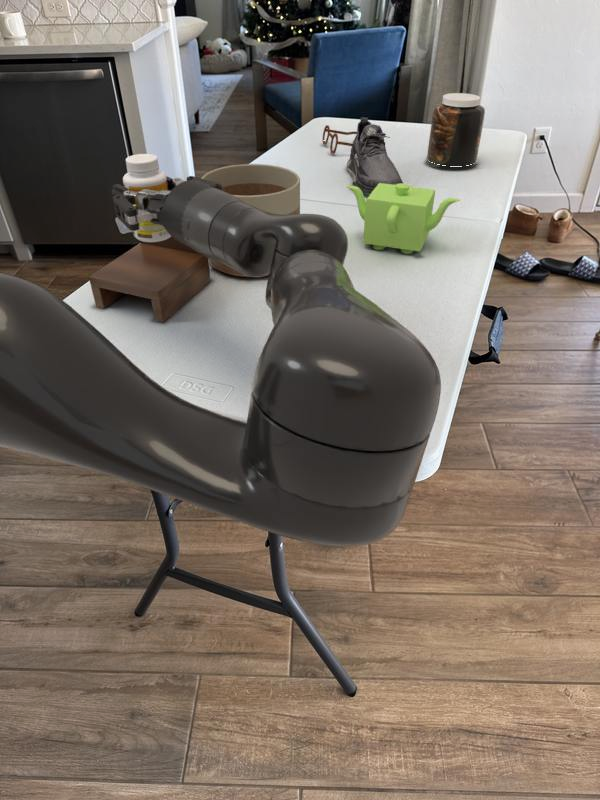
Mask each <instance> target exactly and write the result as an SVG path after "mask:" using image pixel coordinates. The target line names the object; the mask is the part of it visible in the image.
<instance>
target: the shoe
mask: <svg viewBox="0 0 600 800" xmlns="http://www.w3.org/2000/svg"><path fill="white" fill-rule="evenodd" d="M356 132H357V134H355V137H354V139H353V141H352V144H353V145H352V146H351V148H350V155H349V159H348V161H347V163H346V169H347V170H348V172H349V173H350V174H351V176H352V186H356V187H358V188H360V189H361V191H362V192H363V195H368V196H369V195H370V194H371V193H372V191H373V190H374V189H375V188H376V186H377V185H378V184H379V183H384V184H392V185H396V184H399V183H404V181H403V180H402V178H401V174H400V172H399V171H398V169H397V168H396V165H395V164H394V162H393V161H392V159H390V157H389V156H388V152H387V148H386V141H385V138H388V139H390V138H391V137H390V136H387V133H385V132H383V129H382V127H381V126H380V125H378V124H374V123H372V122H371V121H369V117H360V120H359V122H358V123H357V128H356Z"/></svg>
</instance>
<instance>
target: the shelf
mask: <svg viewBox="0 0 600 800" xmlns="http://www.w3.org/2000/svg"><path fill="white" fill-rule="evenodd" d="M88 280H89V284H90V289H91V292H92V296H93V300H94V305H95V307H96V308H100V309H105V308H107V307H108V306H110V305H111V304H113V302H115V301H117V300H118V299H119V298H121V296H123V295H125V294H126V295H132V296H136V297H140V298H145V299H149V300H150V301H151V306H152V313H153V319H154V321H155V322H159V323H165V322H166V321H167V320H168V319H169V318H170V317H172V316H173V314H175V313H176V312H177V311H179V309H181V308H182V307H183V306H184V305H185V304H186V303H187V302H188V301H190V300H191V299H193V298H194V297H195V296H196V295H197V294H198V293H199V292H201V290H202V289H204V288H205V287H206V286H207V285H208V284H209V283H211V282H212V279H211V272H210V262H209V260H208V257H206V256H204V255H202V254H200V253H198V252H197V251H195V250H193V249H191V248H189V247H188V246H186V245H184V244H182V243H180V242H178V241H177V240H175V239H174V238H173V237H172V236H171V237H170V238H168V239H166V240H163V241H159V242H144V241H140V240H139V243H138V244H137V245H136V244H135V246H133V247H132V248H131V249H129V250H128V251H126V252H124V253H123V254H121V255H120V256H118V257H117V258H115V259H113V260H112V261H111V262H109V263H108V264H106V265H104V266H103V267H101V268H100V269H98V270H97V271H95V272H94V273H92V274H90V275H89V276H88Z"/></svg>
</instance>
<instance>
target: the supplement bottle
mask: <svg viewBox="0 0 600 800" xmlns="http://www.w3.org/2000/svg"><path fill="white" fill-rule="evenodd" d="M125 165H126V171H127V172H126V173H125V174H124V176H123V177H122V184H123V186H124V187H126V188H128V189H130V190H131V191H136V192H139V191H141V190H143V189H148V190H154V191H162V190H166V191H169V190H168V183H167V177H168V176H167V175H166V173H165V172H164V171H162V170H161V169H160V164H159V160H158V156H157V155H155V154H152V153H137V154H132V155H130V156H127V157H126V158H125ZM166 176H167V177H166ZM149 201H150V198H149ZM135 204H136V205H137V207H139V203H138V200H137V199H135ZM139 227H140V229H139V230H136V231H132V234H133V237H134V238H135V239H137V240H138V241H139V242H140V241H144V242H159V241H163V240H166V239H168V238H170V237H171V235H170V234H169V233H168V232H167V230H166V229H165V228H164V227H163V226H162V225H157V224H153V223H151V222H150V221H145V222H141V223H140V225H139Z"/></svg>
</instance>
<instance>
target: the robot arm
mask: <svg viewBox="0 0 600 800" xmlns="http://www.w3.org/2000/svg"><path fill="white" fill-rule="evenodd" d="M166 177H167V183H168V190H169V191H166V190H162V191H154V190H148V189H143V190H141V191H139V192H136V191H131V190H130V189H128V188H126V187H124V185H122V184H120V183H116V184H113V185H112V189H111V195H112V202H113V205H114V210H115V216H116V218H117V219H118V220H119V221H120V222H121V223H122V224H123V225H124V226H125V227H126V228H127V229H128V230H129V231H131V232H133V231H136V230H139V229H140V227H139V225H140V223H141V222H145V221H150V222H151V223H153V224H157V225H162V226H163V227H164V228H165V229H166V230H167V232H168V233H169V234H170V235H171V236H172V237H173V238H174V239H175V240H177V241H178V242H180V243H182V244H184V245H186V246H188V247H189V248H191V249H193V250H195V251H197V252H198V253H200V254H202V255H204V256H206V257H208V258H210V259H213V260H216V261H219V262H222V263H223V264H225V265H227V266H229V267H231V268H233V269H235V270H236V271H238V272H240V273H242V274H244V275H247V276H250V277H249V278H261V277H266V276H265V275H267V274H269V275H268V278H267V283H266V288H265V304H266V305H267V306H268V308H269V309H270V312H271V319H272V320H271V321H272V323H273V327H272V329H271V331H270V333H269V336H268V337H267V339H266V342H265V343H264V346H263V348H262V351H261V353H260V356H259V358H258V361H257V363H256V368H255V371H254V375H253V380H252V386H251V394H250V398H249V399H250V400H249V404H248V405H249V406H248V410H247V417H246V422H245V421H241V420H238V419H235V418H231V417H228V416H226V415H222V414H220V413H217V412H215V411H213V410H209V409H207V408H204V407H201V406H199V405H196V404H193V403H192V402H190V401H188V400H185V399H184V398H182V397H180V396H178V395H176V394H174V393H172V392H171V391H169V390H167V389H166V388H165V387H163V386H162V385H160V384H159V383H157V382H156V381H155V380H153V378H151V377H150V376H149V375H147V374H146V373H145V372H144V371H143V370H142V369H141V368H139V367H138V366H137V365H136V364H135V363H134V362H133V361H131V359H129V358H128V357H127V356H126V355H125V353H123V352H122V351H121V350H120V349H119V348H118V347H117V346H115V344H114V343H112V342H111V341H110V340H109V339H108V338H107V337H106V336H104V334H103V333H101V332H100V331H99V330H98V329H97V328H96V327H95V326H94V325H93V324H91V323H90V322H89V321H88V320H87V319H86V318H85V317H83V316H82V315H81V314H80V313H79V312H78V311H77V310H75V309H74V308H73V306H71V305H69V304H68V303H67V302H66V301H64V300H63V299H62V298H60V297H59V296H57V294H54V293H53V292H52V291H50V290H48V289H47V288H45V287H43V286H42V285H39V284H38V283H36V282H34V281H32V280H29V279H27V278H24V277H21V276H19V275H14V274H11V273H7V272H2V271H0V447H1V448H6V449H11V450H14V451H18V452H21V453H25V454H29V455H33V456H37V457H41V458H44V459H48V460H52V461H55V462H59V463H63V464H65V465H70V466H73V467H76V468H79V469H80V468H81V469H84V470H86V471H90V472H95V473H98V474H101V475H105V476H108V477H112V478H116V479H119V480H122V481H125V482H128V483H130V484H134V485H136V486H139V487H142V488H145V489H148V490H151V491H153V492H156V493H158V494H162V495H163V496H164V495H165V496H167V497H170V498H173V499H176V500H178V501H181V502H183V503H186V504H189V505H192V506H194V507H198V508H201V509H203V510H206V511H209V512H211V513H214V514H217V515H220V516H222V517H225V518H228V519H231V520H233V521H236V522H238V523H239V522H240V523H242V524H245V525H248V526H250V527H254V528H256V529H259V530H261V531H264V532H267V533H271V534H273V535H277V536H281V537H284V538H287V539H291V540H296V541H298V542H302V543H303V542H304V543H310V544H314V545H321V546H327V547H339V548H348V547H362V546H367V545H371V544H375V543H378V542H380V541H383V540H384V539H385V538H387V537H388V536H390V535H391V534H393V533H394V531H396V529H397V528H398V526H399V525H400V523H401V521H402V519H403V517H404V515H405V514H406V513H405V512H406V510H407V507H408V505H409V501H410V499H411V495H412V493H413V490H414V486H415V483H416V481H417V477H418V473H419V471H420V467H421V465H422V461H423V458H424V456H425V453H426V449H427V446H428V443H429V439H430V437H431V433H432V430H433V427H434V424H435V422H436V418H437V414H438V411H439V407H440V401H441V400H440V399H441V392H442V381H441V374H440V373H441V372H440V370H439V368H438V365H437V363H436V360H435V359H434V357H433V355H432V354H431V353H430V351H429V350H428V348H427V347H426V346H425V345H424V343H422V341H420V339H419V338H418V337H417V336H416V335H415V334H414V333H413V332H411V331H410V330H409V329H408V328H407V327H405V326H404V325H403V324H401V323H400V322H399V321H398V320H397V319H396V318H394V317H393V316H391V315H390V314H389V313H387V312H386V311H385V310H383V309H382V308H381V307H380V306H379V305H378V304H376V303H375V302H373V301H372V300H371V299H369V298H368V297H366V296H365V295H363V294H362V293H360V292H359V291H358V290H357V289H356V288H355V286H354V283H353V282H352V280H351V277H350V275H349V274H348V271H347V270H346V268H345V267H344V264H345V261H346V257H347V253H348V251H349V249H348V248H349V239H348V236H347V233H346V231H345V229H344V228H343V226H342V225H341V224H340V223H339V222H338V221H336V220H335V219H333V218H331V217H330V216H326V215H322V214H316V213H300V214H288V215H283V214H273V213H269V212H266V211H263V210H261V209H258V208H256V207H254V206H251V205H249V204H247V203H244V202H243V201H241V200H240V199H239V198H237V197H235V196H233V195H231V194H229V193H226V192H224V191H222V184H220V183H216V182H213V181H209V180H205V179H202V177H198V176H193V175H189V176H187V177H186V180H184V179H182V178H180V177H175V178H172V177H170V176H167V175H166ZM149 198H150V201H149ZM135 199H137V200H138V203H139V207H137V205H136V204H135Z"/></svg>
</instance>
